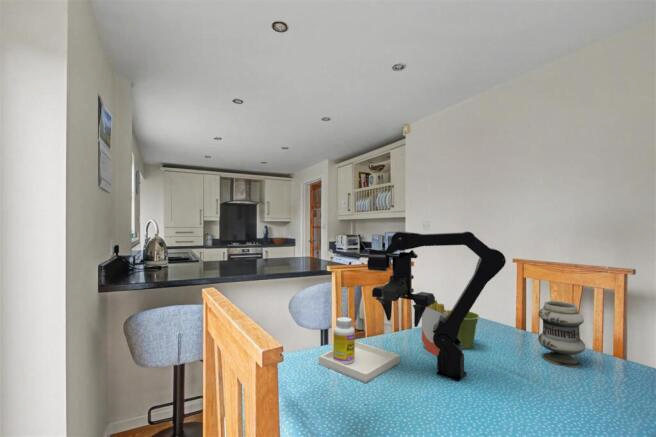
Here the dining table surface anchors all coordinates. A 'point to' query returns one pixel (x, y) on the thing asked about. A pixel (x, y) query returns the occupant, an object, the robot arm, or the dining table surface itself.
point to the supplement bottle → (344, 341)
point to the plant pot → (468, 330)
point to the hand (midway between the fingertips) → (402, 323)
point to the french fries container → (431, 325)
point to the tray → (363, 362)
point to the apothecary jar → (561, 333)
